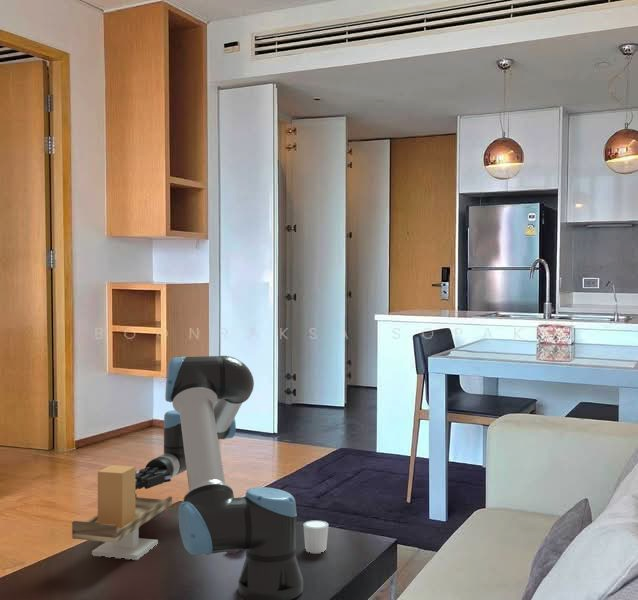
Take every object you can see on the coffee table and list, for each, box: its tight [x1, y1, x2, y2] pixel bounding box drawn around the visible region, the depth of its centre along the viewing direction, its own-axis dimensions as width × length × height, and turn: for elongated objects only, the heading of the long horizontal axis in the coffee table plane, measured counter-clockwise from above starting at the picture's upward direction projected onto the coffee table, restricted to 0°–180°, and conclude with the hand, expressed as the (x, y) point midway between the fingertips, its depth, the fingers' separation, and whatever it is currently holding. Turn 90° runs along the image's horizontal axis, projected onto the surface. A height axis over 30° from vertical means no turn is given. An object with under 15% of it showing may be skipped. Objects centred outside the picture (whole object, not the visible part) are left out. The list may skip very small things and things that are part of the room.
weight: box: [97, 464, 136, 528], centre depth 189 cm, size 7×7×14 cm
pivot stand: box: [91, 527, 159, 561], centre depth 195 cm, size 12×13×6 cm
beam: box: [71, 493, 173, 543], centre depth 194 cm, size 32×12×7 cm, turn 167°
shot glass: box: [302, 520, 330, 554], centre depth 196 cm, size 7×7×7 cm
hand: (122, 490), depth 193 cm, fingers closed
